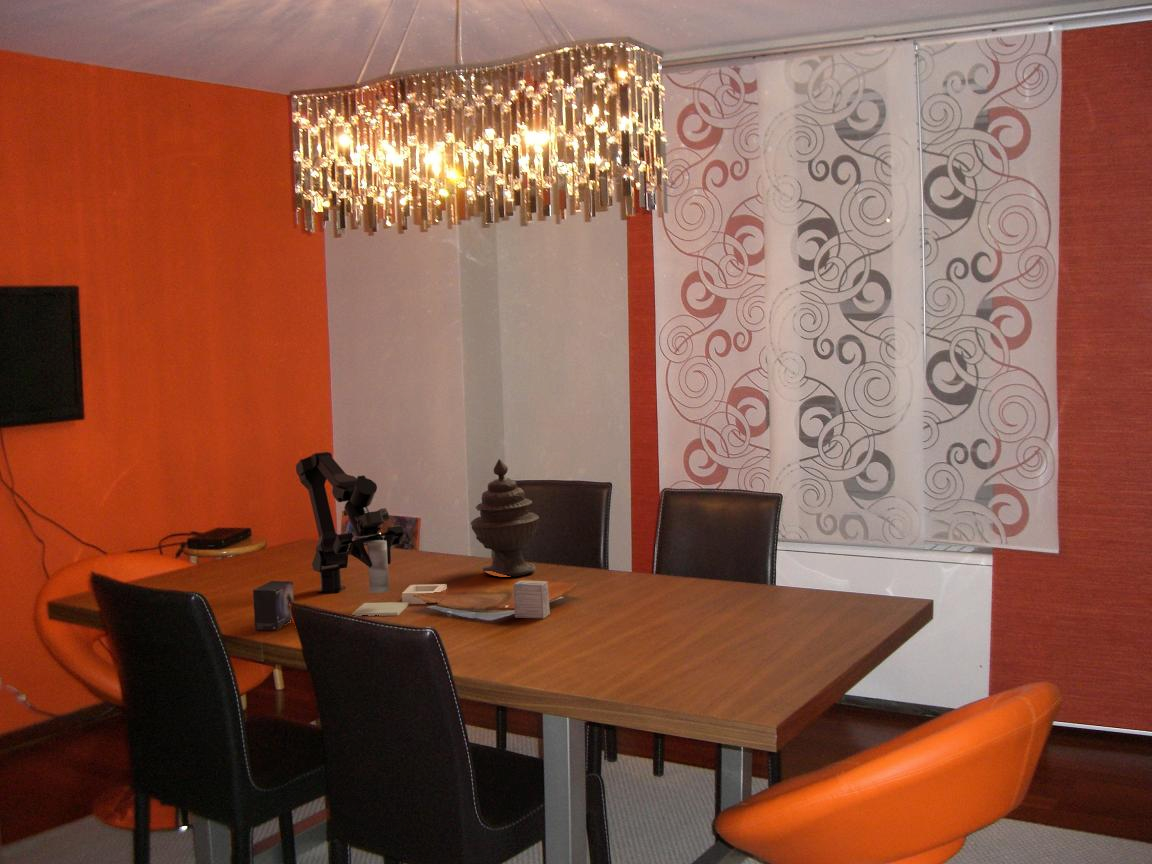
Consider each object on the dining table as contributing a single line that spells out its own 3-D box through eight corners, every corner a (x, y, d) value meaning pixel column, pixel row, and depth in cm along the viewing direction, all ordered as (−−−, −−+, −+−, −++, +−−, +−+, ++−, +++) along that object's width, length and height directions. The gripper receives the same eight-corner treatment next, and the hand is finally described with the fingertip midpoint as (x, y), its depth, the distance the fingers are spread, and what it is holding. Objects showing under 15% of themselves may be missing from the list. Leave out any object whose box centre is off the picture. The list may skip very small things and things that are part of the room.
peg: (378, 587, 301) (376, 539, 300) (393, 589, 298) (390, 540, 297) (366, 592, 297) (363, 543, 295) (380, 593, 294) (377, 544, 293)
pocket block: (411, 595, 314) (410, 584, 313) (447, 594, 313) (446, 584, 312) (402, 604, 304) (401, 593, 304) (438, 603, 303) (438, 592, 302)
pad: (364, 605, 304) (364, 602, 304) (408, 605, 303) (408, 602, 303) (352, 616, 293) (352, 613, 293) (397, 615, 292) (397, 612, 292)
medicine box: (550, 614, 286) (548, 581, 285) (544, 619, 281) (542, 585, 281) (521, 613, 288) (519, 580, 287) (514, 618, 284) (512, 584, 283)
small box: (278, 631, 281) (275, 589, 280) (253, 631, 283) (251, 589, 282) (296, 620, 292) (294, 580, 291) (273, 620, 293) (270, 580, 292)
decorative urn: (550, 562, 346) (538, 450, 341) (537, 582, 326) (523, 463, 321) (486, 566, 350) (473, 455, 344) (469, 585, 330) (454, 468, 325)
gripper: (334, 503, 293) (354, 551, 285) (400, 495, 304) (421, 541, 296) (324, 530, 300) (344, 577, 292) (388, 520, 311) (409, 566, 303)
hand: (380, 564), depth 296 cm, fingers closed on peg, 5 cm apart
